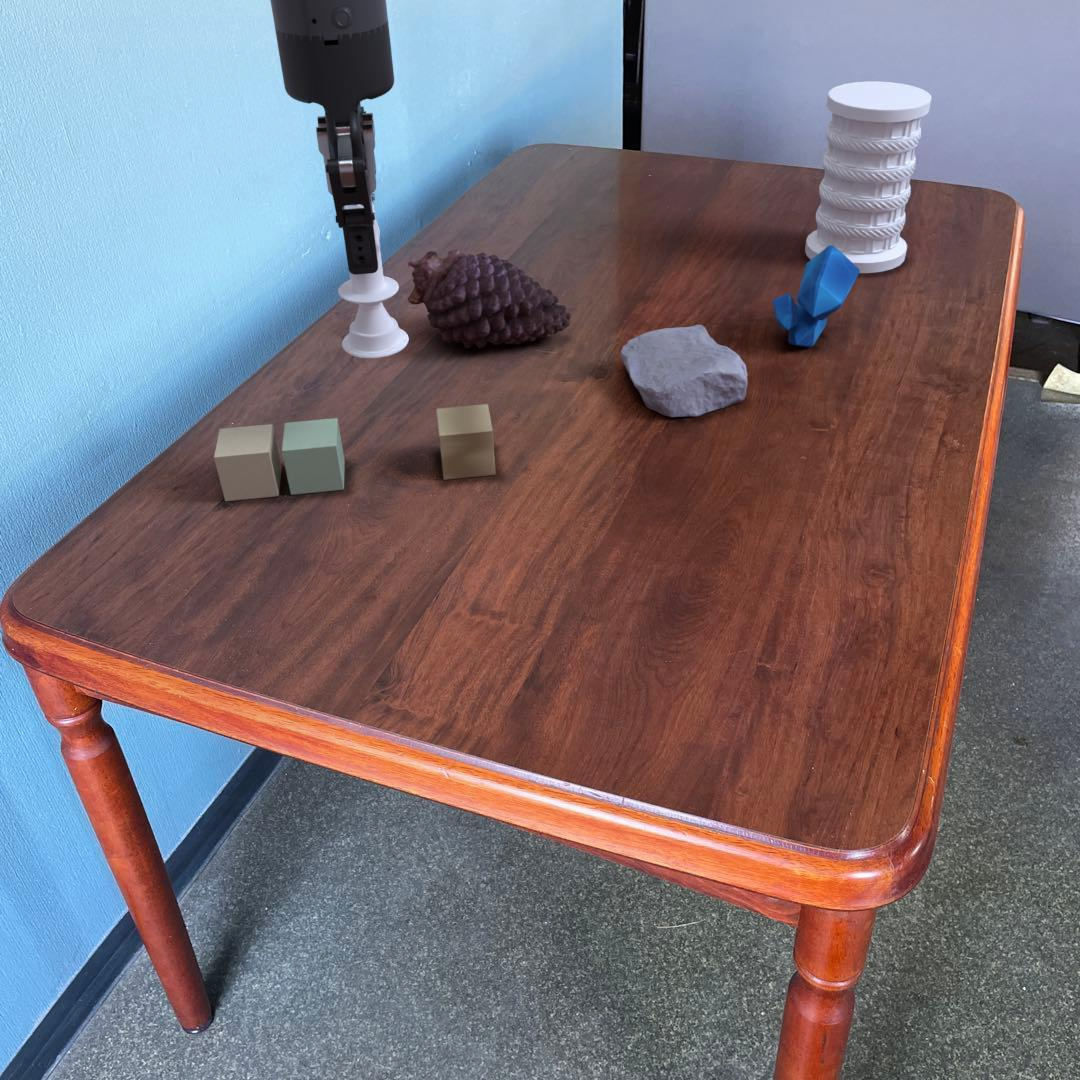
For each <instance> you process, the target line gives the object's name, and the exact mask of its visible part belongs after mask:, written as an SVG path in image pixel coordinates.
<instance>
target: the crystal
mask: <svg viewBox="0 0 1080 1080" xmlns="http://www.w3.org/2000/svg"><path fill="white" fill-rule="evenodd" d="M859 275H860V273H859V268H857V267H856V266H855V265H854V264H853V263H852V262H851V261H850V260H849V259H848V258H847V257H846V256H845V255H844V254H843V253H842V252H841V251H839V250H838V249H837V248H836V247H834V246H832V245H829V246H828V247H826V248H825V249H824V250H823V251H821V252H820V253H819V254H818V255H816V256H815V257H814V258H813V259H811V260H810V259H809V260H808V262H806V264H805V267H804V270H803V275H802V278H801V282H800V286H799V290H798V294H797V297H796V302H797V303H796V302H795V300H794V297H793V296H792V294H791V293H785V294H783V295H780V296H779V297H776V298H775V299H773V300H772V306H773V310H774V314H775V319H776V321H777V323H778V325H779V327H780V329H781V331H784V332H785V331H788V337H787V338H788V339H787V342H788V344H789V346H796V347H802V348H807V349H810V348H812V347H813V346H814V345H815V344H816V342H817V340H818V339H819V337H820V335H821V334H822V332H823V331H824V329H825V328H826V326H827V323H828V317H829V316H830V315H832V314H833V313H835V312H836V311H838V310H839V309H840V308H842V306H843V304H844V303H845V301H846V299H847V296H848V295H849V294H850V291H851V290H852V287H853V286H854V284H855V282H856V280H857V278H858V276H859Z"/></svg>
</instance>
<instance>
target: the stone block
mask: <svg viewBox="0 0 1080 1080" xmlns="http://www.w3.org/2000/svg"><path fill="white" fill-rule="evenodd" d="M620 360H621V361H622V363H623V364H624V366H625V369H626V372H627V373H628V374H629V378H630V380H631V381H632V383H633V385H634V387H635V388H636V389H637V390H638V392H639V394H640V396H641V398H642V401H643V404H644V406H645V407H647V409H649V410H652V411H654V412H657V413H658V414H660V415H662V416H665V417H670V418H677V417H678V418H679V417H682V418H683V417H685V418H686V417H700V416H702V415H705V414H707V413H711V412H712V411H716V410H719V409H723V408H727V407H730V406H732V405H734V404H735V405H736V404H738V403H741V402H743V401H744V400H745V399H746V396H747V388H748V385H749V384H748V376H749V373H748V371H747V365H746V363H745V362H744V360H742V357H741V356H740V354H738V353H737V352H736V351H734V350H732V349H731V348H729V347H728V346H727V345H721V344H718V342H716V341H715V340H714V339H713V338H712V337H711V336H710V335H709V333H708V330H707V329H706V327H705V326H704V325H702V324H695V325H692V326H688V327H687V326H686V327H679V326H678V327H677V326H676V327H671V328H669V327H665V328H661V329H654V330H652V331H646V332H644V333H642V334H640V335H638V336H635V337H634V338H632V339H628V341H627V343H626V344H624V345H623V346H622V347H621V351H620Z"/></svg>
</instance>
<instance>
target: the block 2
mask: <svg viewBox="0 0 1080 1080" xmlns="http://www.w3.org/2000/svg"><path fill="white" fill-rule="evenodd" d="M283 426H284V427H283V435H282V445H281V455H282V460H283V464H284V465H283V466H284V467H285V468H284V469H285V475H286V478H287V483H288V488H289V492H290V495H291V496H293V495H303V494H312V493H315V494H316V493H324V492H325V493H326V492H335V491H343V490H345V463H346V461H345V455H344V449H343V442H342V438H341V431H340V425H339V419H338V418H337V417H334V418H324V419H312V420H302V421H301V420H300V421H289V422H284V425H283Z"/></svg>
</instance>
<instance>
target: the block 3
mask: <svg viewBox="0 0 1080 1080" xmlns="http://www.w3.org/2000/svg"><path fill="white" fill-rule="evenodd" d="M435 411H436V420H437V421H436V422H437V429H438V430H437V431H438V440H439V449H440V458H441V459H440V460H441V468H442V469H441V470H442V479H443V480H444V481H447V480H456V479H467V478H477V477H486V476H487V477H489V476H496V462H495V461H496V460H495V459H496V458H495V447H494V445H495V444H494V432H493V431H494V430H493V425H492V419H491V413H490V409H489V404H488V403H485V404H484V403H483V404H474V405H473V404H472V405H462V406H461V405H460V406H452V407H441V408H436V409H435Z"/></svg>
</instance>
